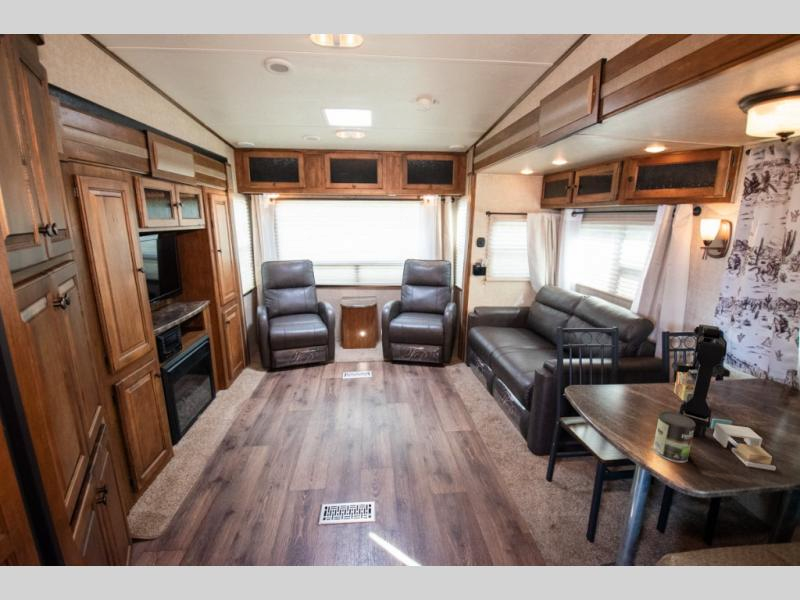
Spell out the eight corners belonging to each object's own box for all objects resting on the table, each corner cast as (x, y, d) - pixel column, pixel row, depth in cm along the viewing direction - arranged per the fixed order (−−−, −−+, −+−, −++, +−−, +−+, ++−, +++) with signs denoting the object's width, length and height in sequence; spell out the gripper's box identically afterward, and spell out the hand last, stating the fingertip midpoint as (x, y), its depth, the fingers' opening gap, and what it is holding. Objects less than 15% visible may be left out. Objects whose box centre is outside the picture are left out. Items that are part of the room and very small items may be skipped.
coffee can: (694, 458, 121) (702, 423, 118) (677, 466, 117) (684, 429, 114) (663, 441, 131) (669, 408, 127) (646, 448, 127) (652, 414, 123)
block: (747, 464, 117) (750, 453, 116) (736, 453, 122) (738, 443, 121) (769, 467, 115) (772, 457, 114) (757, 456, 120) (759, 446, 120)
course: (738, 465, 118) (742, 447, 116) (700, 426, 140) (704, 412, 139) (775, 471, 115) (780, 453, 114) (731, 431, 137) (734, 416, 136)
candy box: (692, 402, 160) (699, 371, 157) (682, 400, 161) (688, 370, 158) (682, 393, 168) (688, 364, 165) (672, 392, 169) (678, 363, 166)
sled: (746, 467, 116) (749, 455, 115) (707, 428, 138) (710, 417, 137) (774, 472, 114) (778, 459, 113) (730, 432, 136) (733, 421, 135)
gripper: (686, 358, 141) (679, 392, 144) (742, 363, 135) (734, 399, 139) (674, 348, 151) (668, 381, 154) (725, 353, 146) (718, 386, 149)
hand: (696, 387), depth 149 cm, fingers closed
